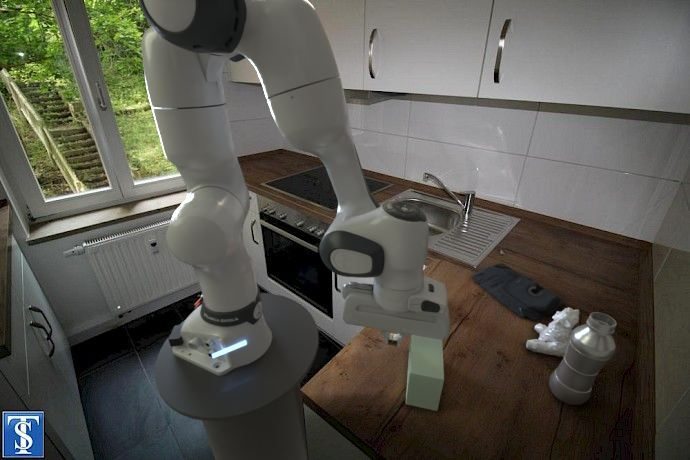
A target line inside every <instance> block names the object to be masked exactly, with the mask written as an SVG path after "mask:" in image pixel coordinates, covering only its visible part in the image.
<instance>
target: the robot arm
mask: <svg viewBox="0 0 690 460" xmlns="http://www.w3.org/2000/svg"><path fill="white" fill-rule="evenodd" d="M138 3H139V6H140V10H141V11H142V14H143V15H144V17H145V19H146V21H147V23H148V24H149V26H150V27H149V28H147V29H146V30H145V31H144V33H143V35H142V37H141V57H142V66H143V73H144V80H145V86H146V91H147V95H148V99H149V103H150V106H151V110H152V114H153V117H154V121H155V125H156V129H157V132H158V135H159V140H160V143H161V146H162V150H163V153H164V156H165V158H166V160H167V161H168V162H169V163H171V164H172V165H173V166H174V167H175V168H176V170H177V171H178V173H179V175H180V177H181V178H182V181H183V182H184V185H185V187H186V198H185V199H184V200H183V201H182V203H181V204H180V205H179V206H178V207H177V208H176V209H175V211H174V212H173V214H172V216H171V218H170V221H169V224H168V226H167V231H166V235H165V240H166V245H167V247H168V250H169V251H170V253H171V254H172V255H173V256H174V257H175V258H176V259H177V260H179V261H180V262H183V263H184V264H186V265H189V266H191V268H192V269H193V271H194V273H195V274H196V277H197V280H198V284H199V288H200V290H201V295H200V298H199V299H198V300H197V301H196V302H195V303H194V304H193V306H194V310H193V311H192V312H191V313H190V314H189V315H188V316H187V317H186V319H185V320H184V321H185V322H184V321H183V322H184V323H183V325H180V324H178V325H174V326H173V328H172V330H171V333H170V334H169V335H168V337H167V338H168V341H169V343H170V346H171V347H173V349H172V351H173V354H174V355H176V356H178V357H180V358H182V359H184V360H187V361H189V362H191V363H193V364H195V365H197V366H199V367H201V368H203V369H205V370H207V371H210V372H212V373H214V374H216V375H218V376H222V375H224V374H226V373H228V372H230V371H231V370H233V369H235V368H237V367H241V366H244V365H247V364H249V363H252V362H254V361H255V360H257V359H258V358H260V357H261V356H262V355H263V354H264V353H265V352H266V351H267V350H268V348H269V347H270V344H271V342H272V332H271V330H270V328H269V327H268V325H267V323H266V320H265V318H264V315H263V312H262V300H261V294H260V293H261V290H260V287H259V286H258V283H257V277H256V276H257V275H256V271H255V265H254V264H255V263H254V260H253V258H252V256H250V255H249V253H248V251H247V249H246V246H245V242H244V237H243V236H244V234H243V233H244V224H245V222H246V219H247V217H248V213H249V211H250V208H251V198H250V191H249V189H248V186H247V185H246V181H245V178H244V174H243V171H242V168H241V164H240V162H239V160H238V156H237V152H236V149H235V144H234V138H233V132H232V128H231V122H230V116H229V110H228V105H227V98H226V95H225V89H224V83H223V70H224V67H225V65H226V64H227V62H228V61H231V62H234V63H238V62H241V61H242V60H245V59H247V60H248V61H249V62H250V63H251V64H252V66H253V68H254V69H255V71H256V73H257V76H258V78H259V81H260V84H261V87H262V90H263V93H264V97H265V99H266V102H267V104H268V108H269V111H270V113H271V116H272V118H273V121H274V123H275V125H276V127H277V129H278V131H279V133H280V134H281V136H282V137H283V139H284V141H285V142H286V143H287V144H289V145H290V146H292V147H293V148H295V149H297V150H298V151H302V152H305V153H309V154H312V155H313V156H316V157H317V158H318V159H319V161H321V162H322V164H323V165H324V167H325V169H326V172H327V175H328V178H329V180H330V182H331V185H332V188H333V192H334V193H335V195H336V199H337V211H336V215H335V218H334V219H333V221H332V222H331V224H330V225H329V227H328V228H327V230H326V232H325V233H324V235H323V237H322V238H321V240H320V243H319V248H318V249H319V255H320V258H321V261H322V262H323V264H324V265H325V266H326V268H327V269H328V270H330V271H331V272H332V273H334V274H335V275H338V276H341V277H345V278H359V279H360V278H361V279H363V278H365V279H366V278H367V279H368V278H371V279H372V278H373V281H372V282H373V284H372V283H366V282H363V283H362V282H357V281H350V282H348V283H345V284H344V285H343V286H342V287H341V296H342V298H343V299H344V304H343V309H342V320H343V322H344V323H345V324H347V325H350V326H351V325H352V326H357V327H364V328H368V329H374V330H380V332H379V333H380V334H381V336H382V337H383V338H384V339H385V340H384V341H385V342H384V344H385V345H386V346H392V347H398V348H400V347H401V342H402V341H403V340H405V339H406V338H407V336H408V335H410V336H411V335H416V336H421V337H427V338H433V339H439V340H442V341H445V340H446V339H448V338H449V337H450V331H451V317H450V308H449V307H450V306H449V302H448V299H449V298H448V291H447V288H446V285H445V284H444V283H443V282H441V281H439V280H436V279H433V278H431V277H429V276H427V275H425V273H424V266H425V264H426V262H427V259H428V252H429V243H430V226H429V221H428V219H427V216H426V214H425V212H423V211H422V210H421V209H420V208H419V207H417V206H416V205H414V204H412V203H409V202H406V201H401V200H389V201H385V202H384V203H383V204H382V205H380V204H379V202H378V201H377V200H376V199H375V197H374V196H373V194H372V193H371V190H370V189H369V186H368V183H367V180H366V176H365V174H364V171H363V170H364V169H363V167H362V163H361V160H360V157H359V153H358V150H357V148H356V145H355V141H354V136H353V131H352V127H351V123H350V117H349V110H348V105H347V100H346V95H345V91H344V86H343V83H342V78H341V75H340V71H339V68H338V64H337V61H336V57H335V54H334V52H333V48H332V46H331V42H330V39H329V37H328V36H327V32H326V30H325V28H324V27H325V26H324V25H323V23H322V21H321V18H320V17H319V15H318V12H317V10H316V8H315V7H314V5H313V4H312V3H311V2H310V1H309V0H138ZM217 367H218V368H217Z"/></svg>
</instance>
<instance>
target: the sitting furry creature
mask: <svg viewBox="0 0 690 460" xmlns="http://www.w3.org/2000/svg"><path fill="white" fill-rule="evenodd" d="M551 318H552V319H553V320H552V321H551V322H549V323H548V326H547V325H546V324H543V323H540V322H539V323H536V324H535V326H534V331H536V333H538V334H539V337H538V339H537V338H535V339H533V338H532V339H527V340H526V343H525V347H526V349H527V350H529V351H531V352H533V353H539V354H545V355H549V356H555V357H559V358H561V357H562V358H564V355H565V353H566V350H567V347H568V342H569V338H570V334H571V332H572V331H573V328H574V327H575V326H576V325H577V324H578V323H579V322H580V310H579V309H578V308H577V309H573V308H572V307H569V306H568V307H565V308H564V309H563V310H562V311H558V310H556V312H555V313H554V315H552V317H551Z"/></svg>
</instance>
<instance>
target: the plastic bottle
mask: <svg viewBox="0 0 690 460" xmlns="http://www.w3.org/2000/svg"><path fill="white" fill-rule="evenodd" d="M616 327H617V321H616V320H615V319H614V317H612V316H610V315H608V314H607V313H604V312H599V311H593V312H590V314H589V316H588V318H587V319H586V321H585V324H580V325H579V326H577V327H575V328H574V329H572V332H571V334H570V338H569V342H568V347H567V350H566V353H565V355H564V357H562V360H561V362H560V363H559V364H558V366H557V368H555V369H554V370H553V371H552V373H551V374H550V376H549V379H548V388H549V389H550V391H551V393H552V395H553V396H554V397H555V398H557V399H558V400H559V401H560V402H563V403H564V404H567V405H570V406H581V405H583V404H585V403H586V402H587V401H588V400H589V399H590V397H591V394H592V389H593V386H594V383H595V380H596V379H597V376H598V374H599V373H600V371H601V370H602V368H603V367H604V366H605V365H606V364H607V363H608V362H609V360H611V358H612V357H613V356H614V354H615V352H616V347H617V344H616V342H615V339H614V337H613V334H614V333H615V331H616V330H615V329H616Z"/></svg>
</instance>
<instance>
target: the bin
mask: <svg viewBox="0 0 690 460" xmlns="http://www.w3.org/2000/svg"><path fill="white" fill-rule="evenodd" d="M410 337H411V338H410V342H409V343H410V344H409V351H408V362H407V363H408V364H407V365H408V366H407V376H406V377H407V379H406V393H405V405H408V406H412V407H416V408H421V409H426V410H430V411H435V412H438V410H439V406H440V405H439V404H440V400H441V396H442V391H443V387H444V382H445V368H444V367H445V366H444V348H443V340H439V339H433V338H427V337H421V336H416V335H410Z"/></svg>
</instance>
